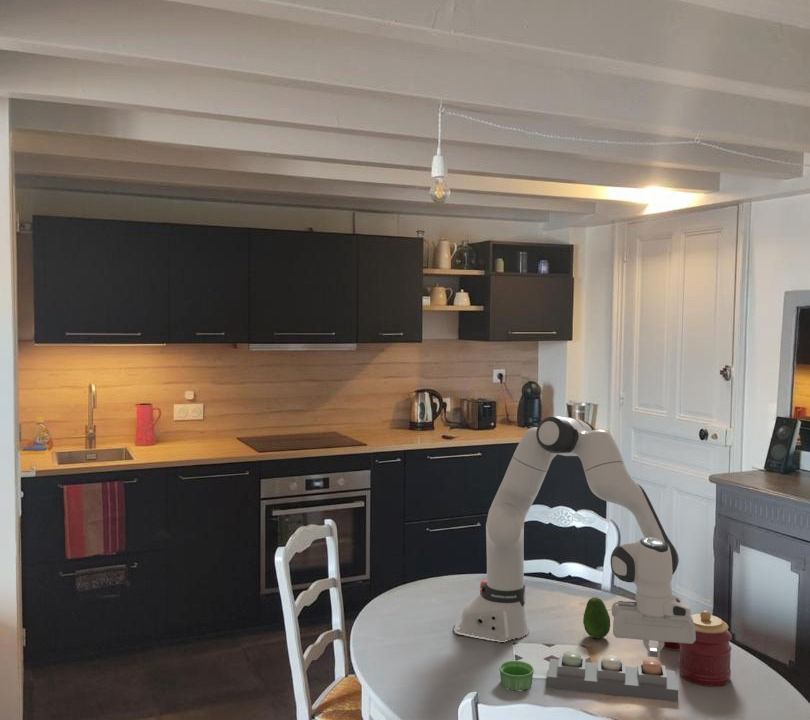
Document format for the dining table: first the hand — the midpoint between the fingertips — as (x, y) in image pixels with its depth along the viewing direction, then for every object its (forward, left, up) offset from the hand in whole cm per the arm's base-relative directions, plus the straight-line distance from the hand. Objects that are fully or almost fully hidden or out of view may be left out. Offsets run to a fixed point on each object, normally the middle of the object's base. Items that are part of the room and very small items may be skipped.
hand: (653, 656), depth 207 cm
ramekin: (-34, -5, -9) cm, 36 cm away
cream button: (-10, 0, -4) cm, 11 cm away
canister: (+14, +11, -9) cm, 19 cm away
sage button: (-20, 0, -4) cm, 21 cm away
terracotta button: (0, 0, -4) cm, 4 cm away
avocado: (-14, +30, -9) cm, 34 cm away
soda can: (+7, +29, -9) cm, 31 cm away
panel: (-10, 0, -9) cm, 13 cm away
